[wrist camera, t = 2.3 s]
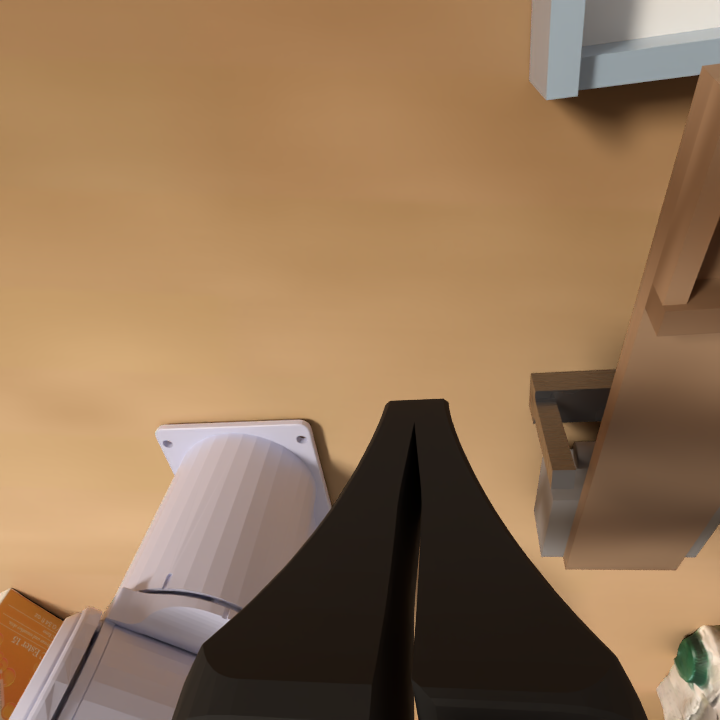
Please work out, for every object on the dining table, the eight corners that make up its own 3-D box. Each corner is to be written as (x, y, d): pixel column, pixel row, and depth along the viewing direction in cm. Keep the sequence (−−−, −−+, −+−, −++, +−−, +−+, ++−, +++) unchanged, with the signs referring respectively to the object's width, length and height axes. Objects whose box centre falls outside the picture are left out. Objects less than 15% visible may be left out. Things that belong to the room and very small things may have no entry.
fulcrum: (713, 398, 23) (776, 493, 19) (529, 405, 24) (550, 496, 20) (723, 364, 22) (792, 457, 18) (530, 373, 23) (553, 462, 19)
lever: (678, 509, 26) (707, 593, 24) (534, 510, 28) (546, 590, 25) (983, -24, 10) (1178, 49, 8) (611, 30, 12) (670, 110, 9)
